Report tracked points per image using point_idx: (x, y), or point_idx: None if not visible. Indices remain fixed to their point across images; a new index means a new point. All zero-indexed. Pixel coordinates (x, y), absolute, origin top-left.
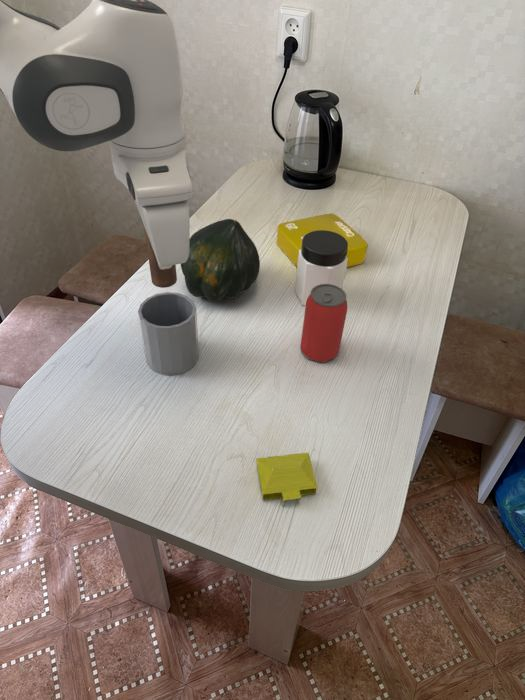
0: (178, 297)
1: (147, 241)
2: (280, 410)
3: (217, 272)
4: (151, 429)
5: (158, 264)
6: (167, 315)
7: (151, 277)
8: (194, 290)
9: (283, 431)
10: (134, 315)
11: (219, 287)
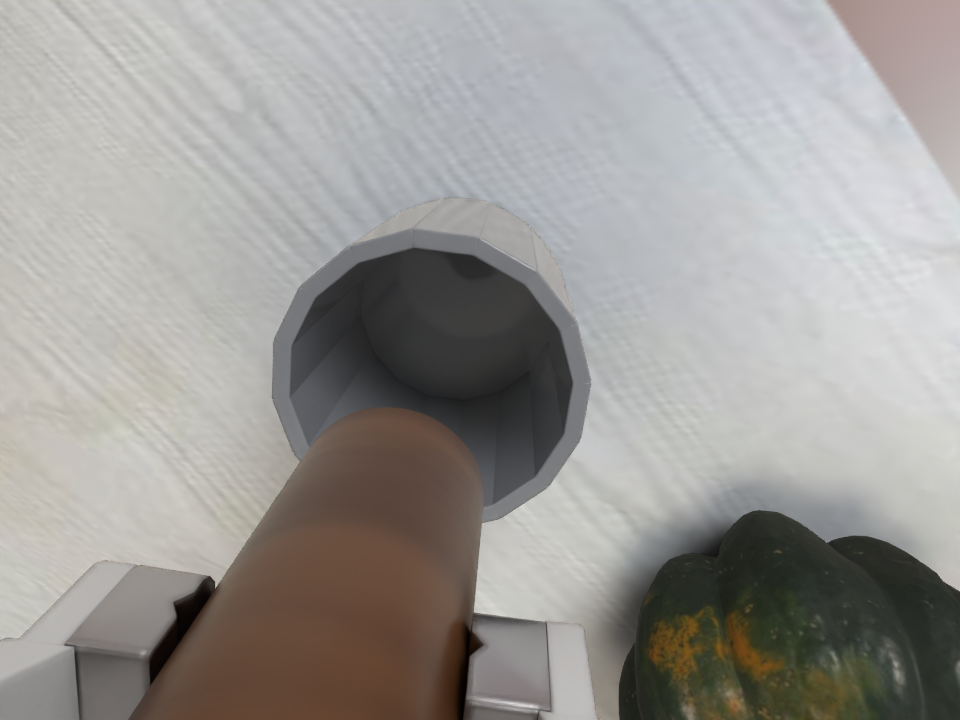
0: (525, 476)
1: (207, 701)
2: (87, 522)
3: (671, 700)
4: (121, 102)
5: (109, 580)
6: (556, 373)
7: (383, 426)
8: (733, 536)
9: (6, 492)
10: (786, 243)
11: (638, 643)
